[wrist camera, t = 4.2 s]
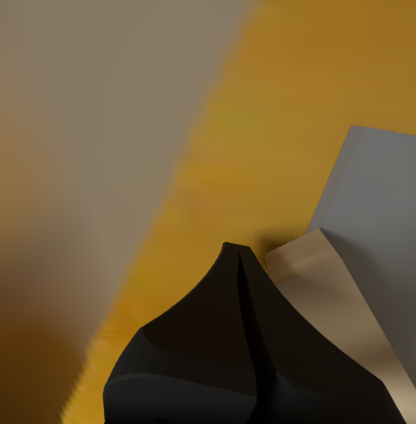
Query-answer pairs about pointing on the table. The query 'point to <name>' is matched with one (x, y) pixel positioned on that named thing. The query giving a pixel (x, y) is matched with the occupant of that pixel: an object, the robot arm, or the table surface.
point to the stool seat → (377, 229)
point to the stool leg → (338, 310)
